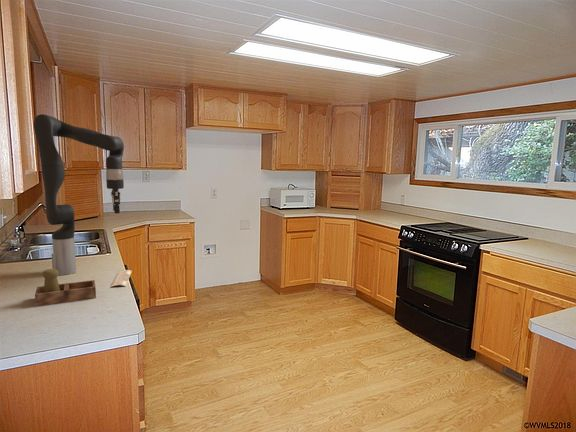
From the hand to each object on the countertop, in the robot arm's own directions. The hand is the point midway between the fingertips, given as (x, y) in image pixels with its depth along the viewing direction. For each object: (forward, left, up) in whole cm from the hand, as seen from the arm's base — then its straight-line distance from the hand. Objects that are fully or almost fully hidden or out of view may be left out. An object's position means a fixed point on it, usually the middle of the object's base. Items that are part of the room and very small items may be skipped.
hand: (116, 212), depth 188 cm
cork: (+2, -40, -29) cm, 50 cm away
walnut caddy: (+6, -37, -30) cm, 48 cm away
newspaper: (+10, -9, -31) cm, 33 cm away
